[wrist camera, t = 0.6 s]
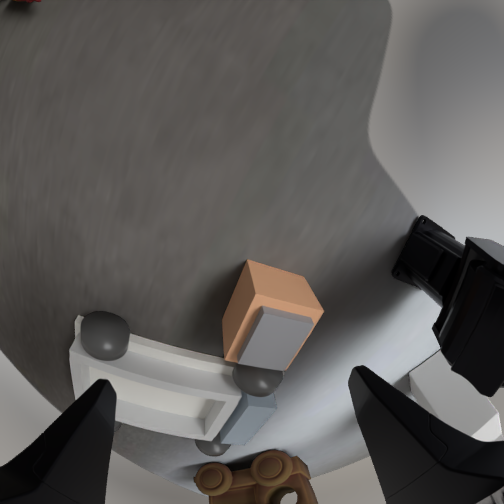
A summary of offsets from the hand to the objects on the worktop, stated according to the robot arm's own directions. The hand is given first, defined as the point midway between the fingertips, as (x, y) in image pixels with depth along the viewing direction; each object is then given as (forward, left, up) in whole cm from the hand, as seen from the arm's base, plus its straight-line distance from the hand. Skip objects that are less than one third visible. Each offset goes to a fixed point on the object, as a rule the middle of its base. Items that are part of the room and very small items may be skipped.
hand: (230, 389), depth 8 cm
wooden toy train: (-18, +38, -13) cm, 44 cm away
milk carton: (-36, +9, -13) cm, 39 cm away
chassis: (0, +17, -13) cm, 21 cm away
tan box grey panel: (-5, +3, -13) cm, 14 cm away
